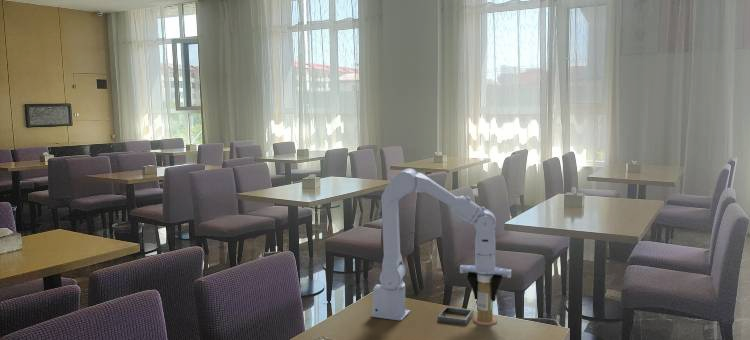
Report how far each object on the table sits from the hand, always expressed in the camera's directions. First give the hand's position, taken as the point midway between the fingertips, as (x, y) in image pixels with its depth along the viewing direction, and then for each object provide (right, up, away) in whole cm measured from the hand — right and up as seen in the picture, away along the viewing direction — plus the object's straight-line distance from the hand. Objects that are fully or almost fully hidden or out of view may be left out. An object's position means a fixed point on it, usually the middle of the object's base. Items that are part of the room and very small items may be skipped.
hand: (485, 299), depth 166 cm
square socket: (-8, -6, +3) cm, 11 cm away
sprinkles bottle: (0, -6, +1) cm, 6 cm away
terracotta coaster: (0, -6, +1) cm, 6 cm away
